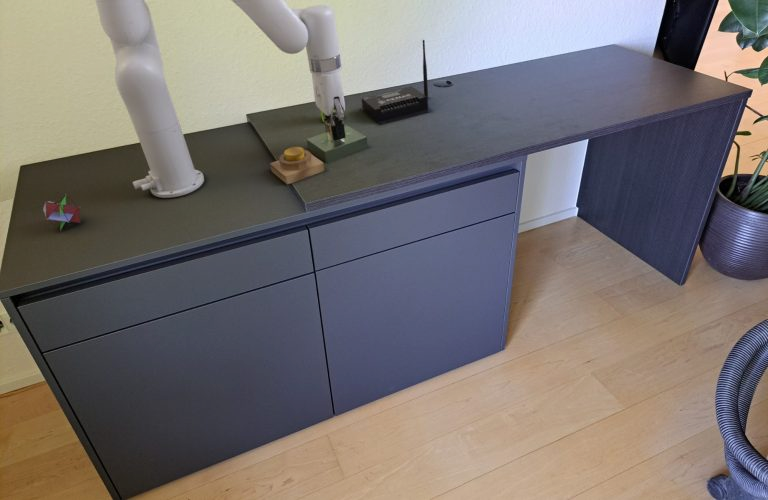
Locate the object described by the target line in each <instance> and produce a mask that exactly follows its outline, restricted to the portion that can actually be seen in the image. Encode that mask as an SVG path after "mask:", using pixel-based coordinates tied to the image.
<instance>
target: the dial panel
mask: <svg viewBox="0 0 768 500" xmlns="http://www.w3.org/2000/svg"><path fill="white" fill-rule="evenodd" d="M344 129H345V136H346V137H345V138H344V139H342V140H340V141H329V140H328V138H327V133H326V132H324V133H320V134H318V135H314V136H312V137H307V138H306V143H307V148H308V149H307V150H308V151H309V152H310V153H312V154H314V156H317V157H318V158H320V159H321V160H323V161H324V162H326V163H330V162H332V161H334V160H335V161H336V160H337V159H340V158H343V157H346V156H348V155H352V154H354V153H356V152H360V151H363V150H365V149H368V147H369V146H368V139H367V138H368V137H367V136H366V135H364V134H362V133H361V132H359V131H357V130H356V129H354V128H352V127H350V126H349V125H344Z"/></svg>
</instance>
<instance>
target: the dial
mask: <svg viewBox="0 0 768 500" xmlns="http://www.w3.org/2000/svg"><path fill="white" fill-rule="evenodd" d="M334 119H335V118H334ZM325 125H326V129H325V133H326V132H327V138H328V140H329V141H334V140H333V137H332V130H331V125H332V122H331V118H330V119H328V120H326V121H325V123H324V126H325ZM340 140H342V139H340ZM340 140H336V141H340Z"/></svg>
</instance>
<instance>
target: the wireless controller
mask: <svg viewBox="0 0 768 500" xmlns="http://www.w3.org/2000/svg"><path fill="white" fill-rule="evenodd" d="M425 42H426V41H425V39H422V77H423V92H424V93H423V92H421V91H419V90H417V88H415V87H414V86H412V85H411V86H410V85H409V86H407V87H403V88H398V89H394V90H391V91H386V92H381V93H377V94H374V95H369V96H366V97H365V96H364V97H361V99H360V100H361V106H362V108H361V111H362V112H363V113H364V114H366V115H367V116H368V117H369V118H371V119H372V120H373V121H374V122H375V123H376V124H377V125H378V126H379V125H380V126H382V125H386V124H389V123H393V122H396V121H400V120H401V121H402V120H405V119H409V118H412V117H416V116H419V115H420V116H421V115H423V114H427V113H430V112H431V110H430V109H429V100H428V98H429V87H428V66H427V59H426V44H425Z"/></svg>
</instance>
